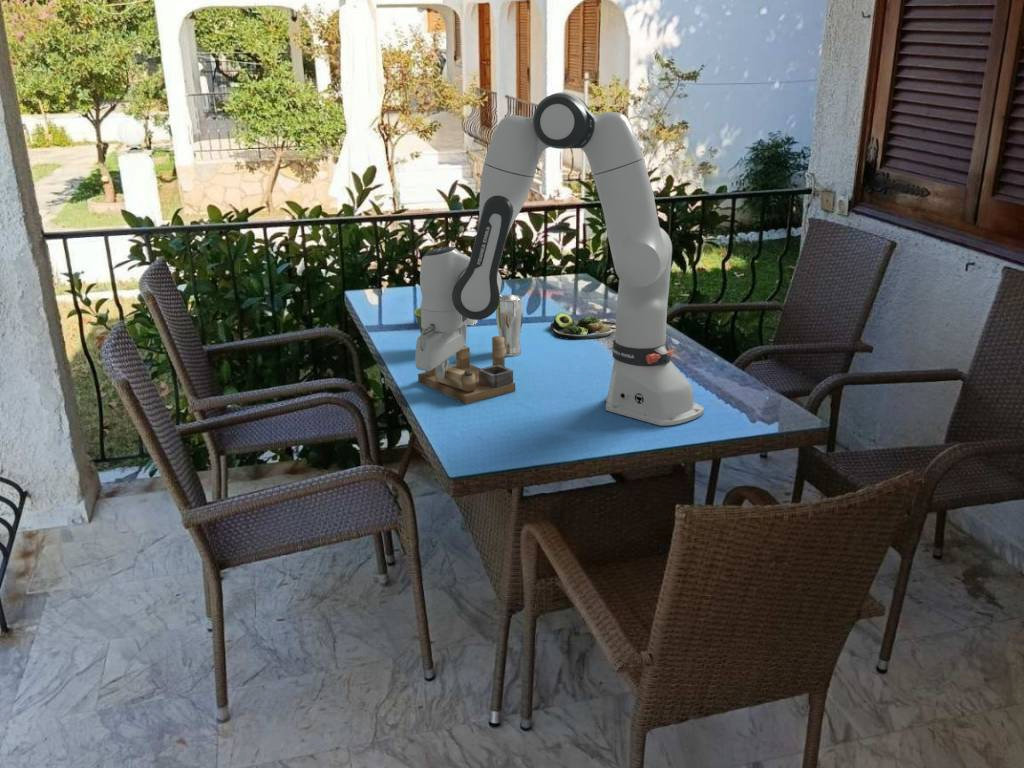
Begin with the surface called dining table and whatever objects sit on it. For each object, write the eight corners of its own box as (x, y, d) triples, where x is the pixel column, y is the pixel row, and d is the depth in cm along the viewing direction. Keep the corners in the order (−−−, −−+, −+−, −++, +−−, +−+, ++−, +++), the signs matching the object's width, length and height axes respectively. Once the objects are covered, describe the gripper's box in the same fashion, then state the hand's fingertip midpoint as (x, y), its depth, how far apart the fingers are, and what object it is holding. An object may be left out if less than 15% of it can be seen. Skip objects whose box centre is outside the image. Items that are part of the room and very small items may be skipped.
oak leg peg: (507, 373, 228) (506, 338, 225) (497, 375, 227) (497, 340, 224) (499, 370, 231) (499, 335, 228) (490, 372, 229) (489, 337, 226)
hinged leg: (478, 389, 211) (477, 372, 209) (468, 392, 208) (468, 375, 207) (444, 377, 218) (443, 361, 217) (434, 381, 216) (433, 364, 215)
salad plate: (611, 321, 273) (611, 306, 272) (626, 338, 256) (626, 322, 255) (546, 324, 271) (546, 309, 269) (557, 342, 254) (557, 325, 252)
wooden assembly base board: (515, 391, 216) (515, 362, 214) (466, 404, 208) (465, 375, 206) (465, 369, 231) (465, 343, 229) (418, 381, 223) (417, 354, 221)
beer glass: (520, 357, 240) (519, 301, 235) (494, 356, 241) (493, 300, 236) (525, 349, 246) (525, 294, 241) (499, 348, 248) (498, 293, 243)
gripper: (433, 333, 198) (435, 393, 202) (471, 310, 216) (471, 366, 220) (407, 329, 200) (409, 390, 204) (446, 307, 218) (447, 363, 223)
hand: (441, 377), depth 213 cm, fingers closed
